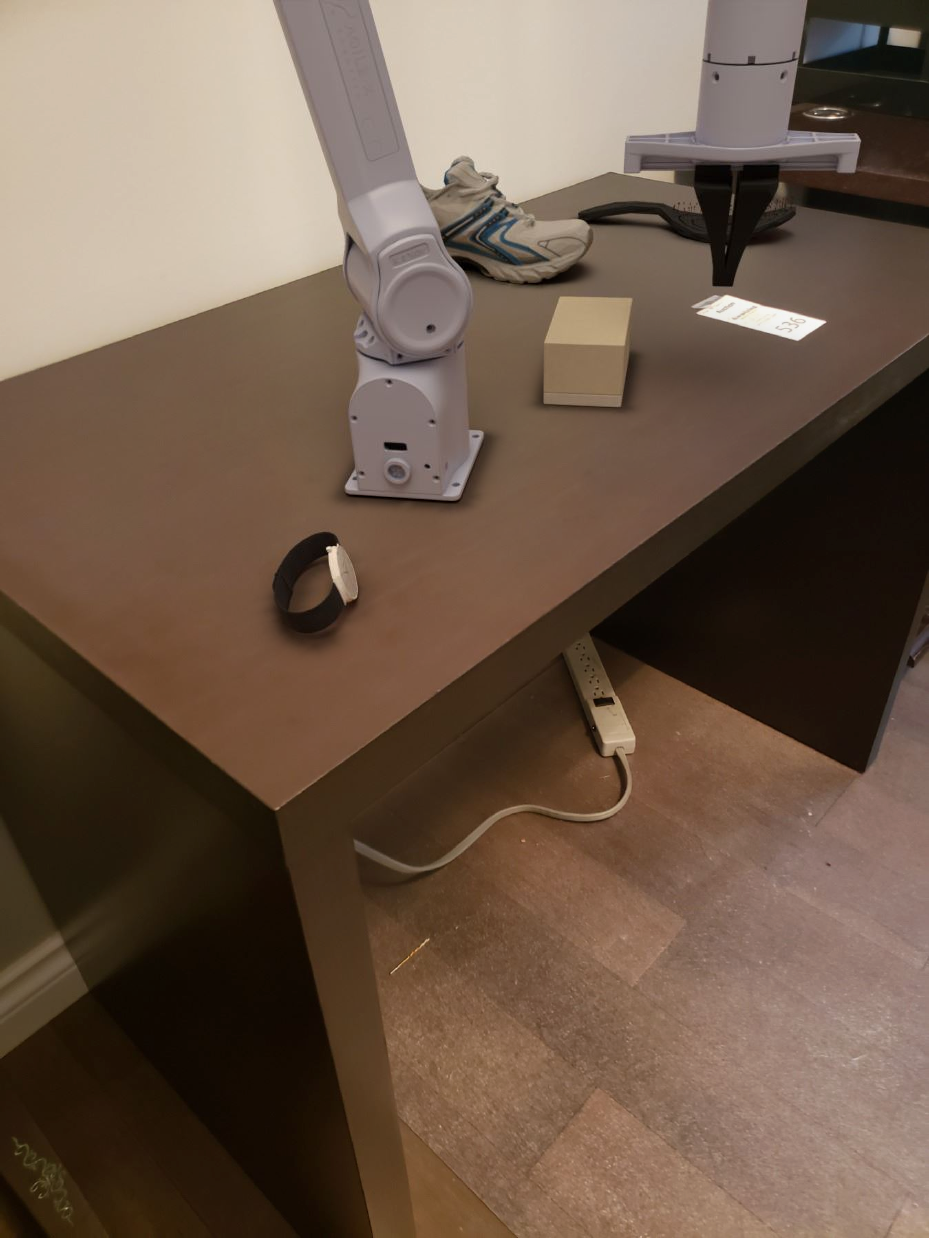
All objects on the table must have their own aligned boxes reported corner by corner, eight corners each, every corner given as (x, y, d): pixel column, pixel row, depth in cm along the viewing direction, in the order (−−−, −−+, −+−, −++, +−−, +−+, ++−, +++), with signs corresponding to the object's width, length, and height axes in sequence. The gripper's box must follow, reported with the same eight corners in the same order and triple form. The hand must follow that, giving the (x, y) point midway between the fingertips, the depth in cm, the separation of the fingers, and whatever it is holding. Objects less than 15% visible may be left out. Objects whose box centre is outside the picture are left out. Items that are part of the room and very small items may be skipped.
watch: (355, 639, 51) (347, 586, 49) (269, 645, 51) (257, 592, 49) (360, 560, 57) (353, 509, 55) (283, 565, 57) (273, 514, 55)
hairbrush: (591, 185, 113) (805, 190, 103) (592, 217, 115) (801, 225, 105) (565, 203, 108) (787, 210, 97) (565, 237, 110) (783, 247, 99)
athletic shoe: (588, 285, 93) (593, 150, 88) (367, 283, 97) (360, 156, 92) (597, 277, 102) (602, 154, 97) (394, 276, 106) (389, 159, 101)
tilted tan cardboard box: (624, 345, 69) (543, 342, 70) (620, 408, 72) (543, 404, 73) (632, 297, 76) (559, 296, 78) (628, 356, 80) (558, 354, 81)
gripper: (866, 46, 59) (825, 265, 67) (634, 52, 62) (622, 262, 70) (882, 63, 54) (835, 299, 62) (627, 69, 56) (615, 294, 65)
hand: (722, 282), depth 66 cm, fingers closed
